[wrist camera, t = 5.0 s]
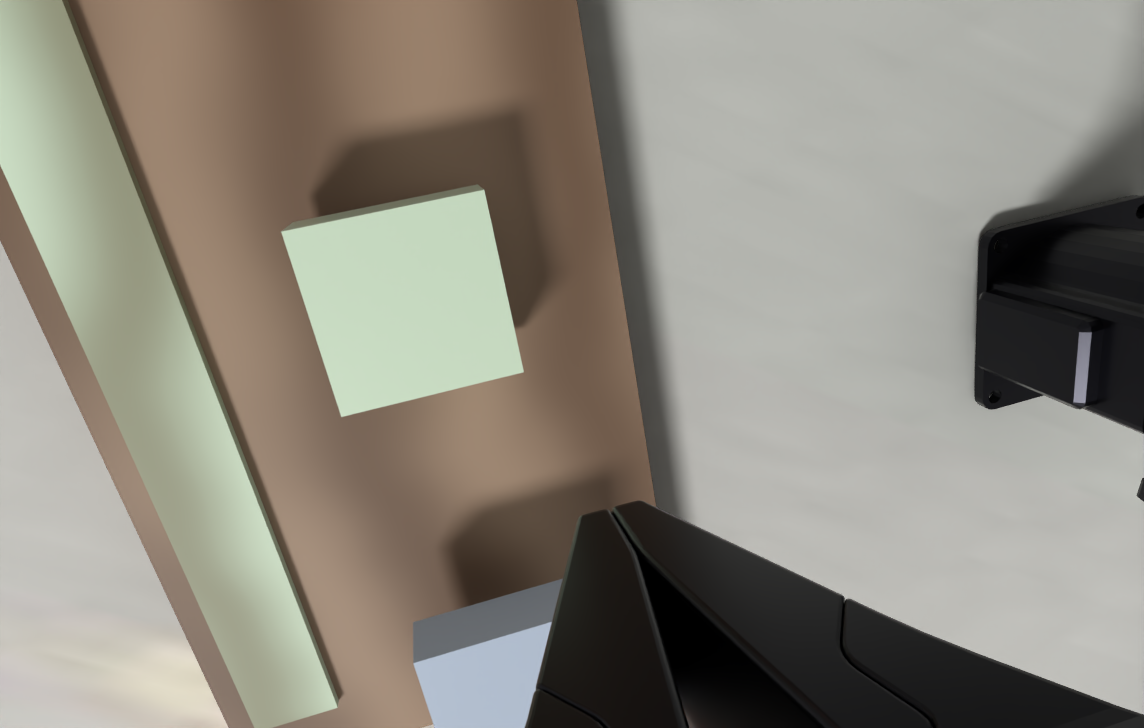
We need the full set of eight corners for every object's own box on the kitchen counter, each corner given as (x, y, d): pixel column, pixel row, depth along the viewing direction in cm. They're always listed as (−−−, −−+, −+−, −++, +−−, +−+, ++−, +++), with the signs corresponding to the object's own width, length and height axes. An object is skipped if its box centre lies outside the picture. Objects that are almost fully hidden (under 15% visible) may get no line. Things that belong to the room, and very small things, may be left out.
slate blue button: (566, 577, 20) (579, 613, 19) (592, 694, 22) (605, 736, 20) (412, 622, 19) (413, 663, 18) (450, 739, 21) (453, 786, 19)
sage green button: (477, 184, 17) (484, 190, 16) (514, 352, 19) (523, 372, 17) (292, 222, 16) (281, 232, 15) (347, 393, 18) (341, 417, 16)
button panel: (494, -384, 16) (507, -465, 14) (659, 609, 26) (681, 653, 23) (-203, -324, 14) (-313, -405, 12) (265, 729, 24) (251, 788, 22)
